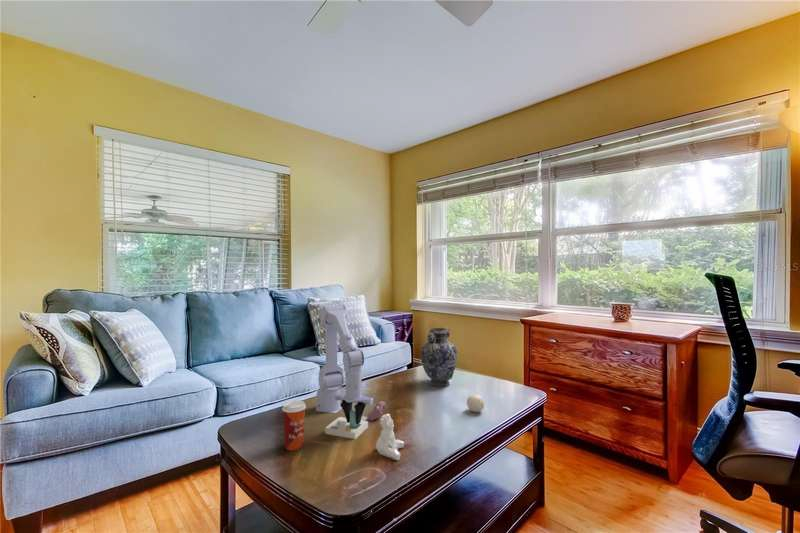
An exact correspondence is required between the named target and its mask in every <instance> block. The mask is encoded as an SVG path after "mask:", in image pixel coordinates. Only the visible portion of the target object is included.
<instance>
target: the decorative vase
mask: <svg viewBox="0 0 800 533" xmlns="http://www.w3.org/2000/svg"><path fill="white" fill-rule="evenodd" d="M449 336H450V329H449V328H448V327H433V328H430V330H429V331H428V334H427V342H425V343H424V344H423V345H422V347H421V351H420V360H421V365H422V368H423V370H424V372H425V374H426V376H427V377H428V378H429V379H430V380H429V381H428V384H429V385H430V386H432V387H437V388H442V387H443V388H444V387H448V386H450V384H451V383H450V380H452V379H453V375H454V373H455V369H456V366H457V362H458V352H457V351H458V350H457V348H456V346H455V345H454V343H452V342H450V341H449V340H448V338H449Z"/></svg>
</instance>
